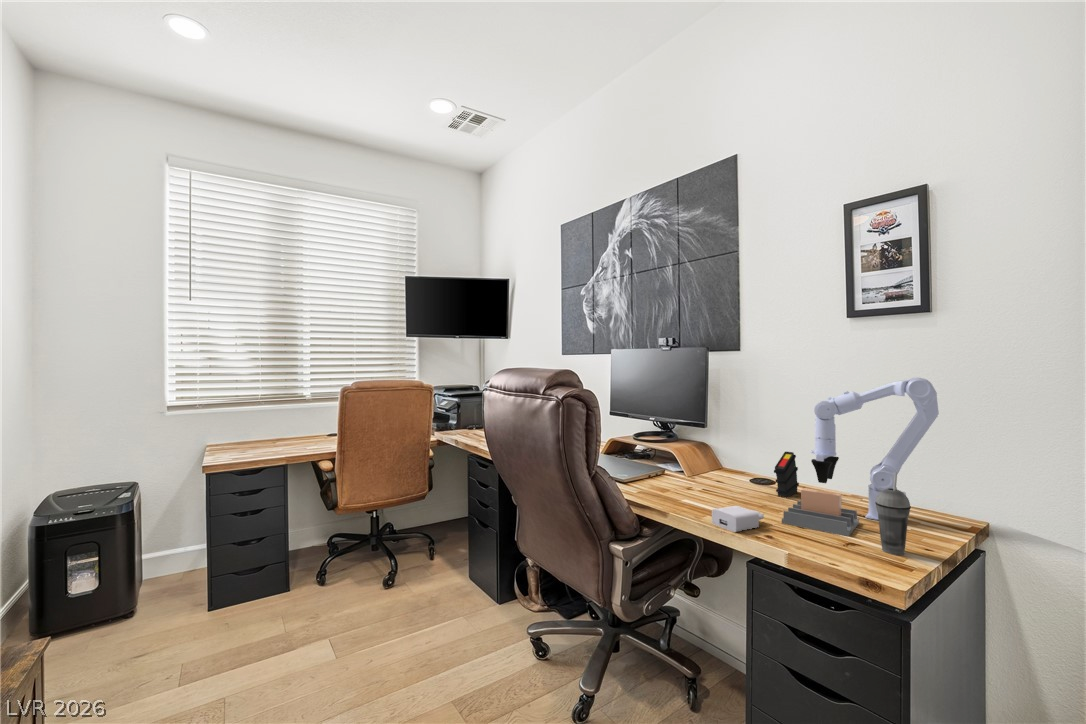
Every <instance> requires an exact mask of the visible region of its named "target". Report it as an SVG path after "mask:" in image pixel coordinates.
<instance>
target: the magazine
mask: <svg viewBox="0 0 1086 724" xmlns="http://www.w3.org/2000/svg"><path fill="white" fill-rule="evenodd" d="M796 457H797V455H796V454H795V453H794V452H793V451H784V453H783V454H782V455H781V457H780V459H779V460H778V462H777V463H776V464H775V466H774V470H773V473H774V474H775V476H776V479H775V483H776V485H777V489H776V490H775V492H776V493H777V496H778V497H780V496H781V497H780V498H785V497H786V498H788V497H791V496H793V495H795V494H796V493H798V487H799V486H800V482H798V474H797V473H798V470H799V468H798V466H797V465H796Z"/></svg>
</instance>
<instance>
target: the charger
mask: <svg viewBox="0 0 1086 724" xmlns="http://www.w3.org/2000/svg"><path fill="white" fill-rule="evenodd" d="M763 519H765V514H764V513H761V512H759V511H756V510H755V509H752V510H751V509H748V508H745V507H742V506H739V505H733V506H726V507H725V506H724V507H720V508H713V509H711V523H712V525H714V524H715V526H717V527H719V528H722V529H724V530H728V531H730V532H732V533H738V532H743V531H742V530H745V531H748V530H747V529H750V530H753V529H752V528H755V529H758V528H759V527H760V520H763ZM757 527H758V528H757Z"/></svg>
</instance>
